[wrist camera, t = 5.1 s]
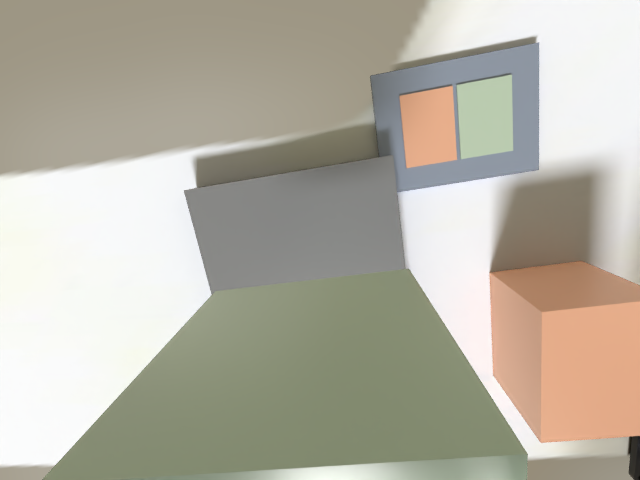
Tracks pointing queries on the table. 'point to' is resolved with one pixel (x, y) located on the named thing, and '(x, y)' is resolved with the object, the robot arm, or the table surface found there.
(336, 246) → the base plate
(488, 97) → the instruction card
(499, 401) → the table surface
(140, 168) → the table surface
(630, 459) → the robot arm
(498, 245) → the table surface
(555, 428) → the terracotta brick
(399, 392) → the sage brick
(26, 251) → the table surface
